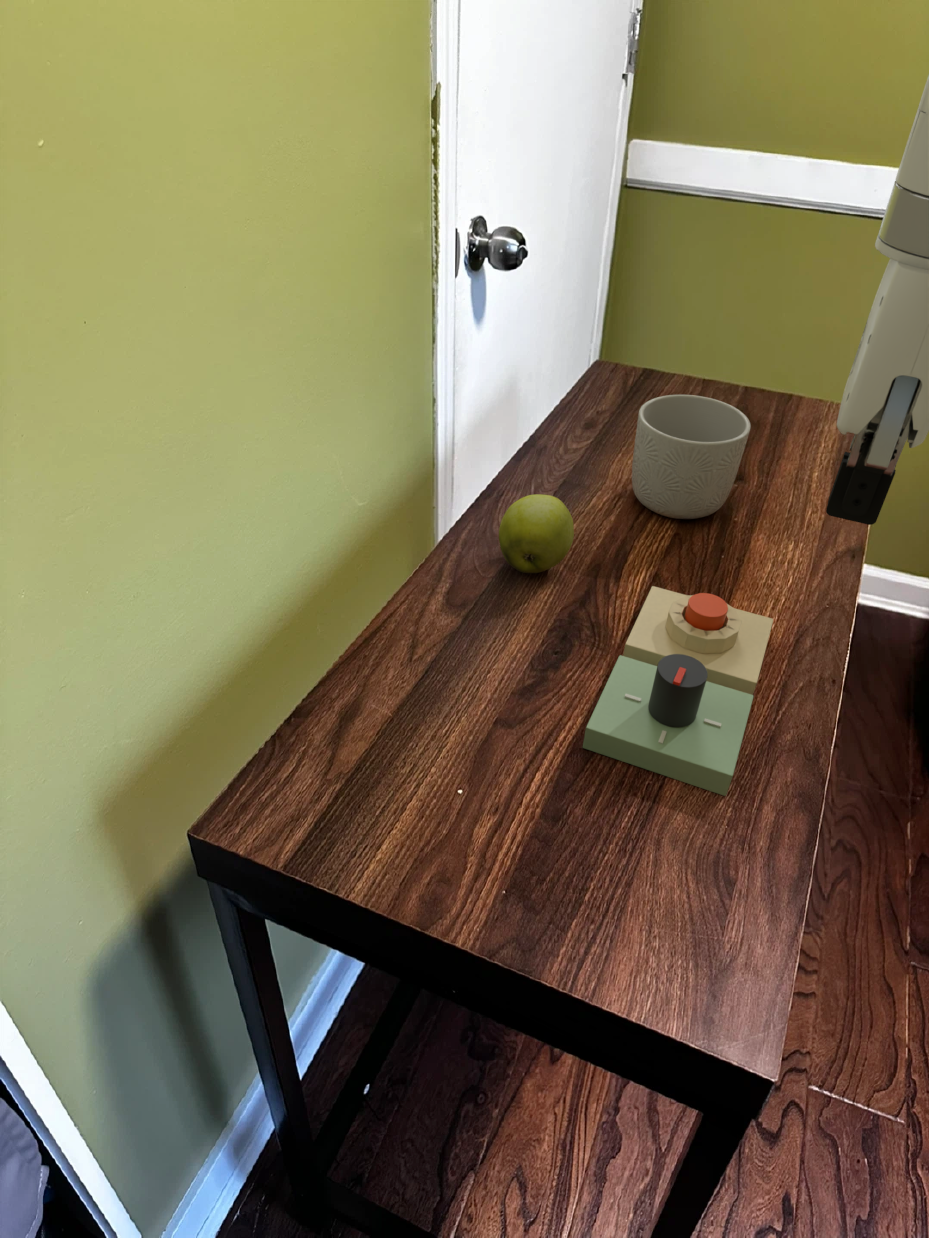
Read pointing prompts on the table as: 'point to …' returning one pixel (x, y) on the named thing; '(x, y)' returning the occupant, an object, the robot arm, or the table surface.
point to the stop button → (706, 612)
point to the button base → (701, 640)
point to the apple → (536, 533)
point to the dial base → (669, 729)
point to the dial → (677, 690)
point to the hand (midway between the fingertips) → (850, 514)
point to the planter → (687, 454)
